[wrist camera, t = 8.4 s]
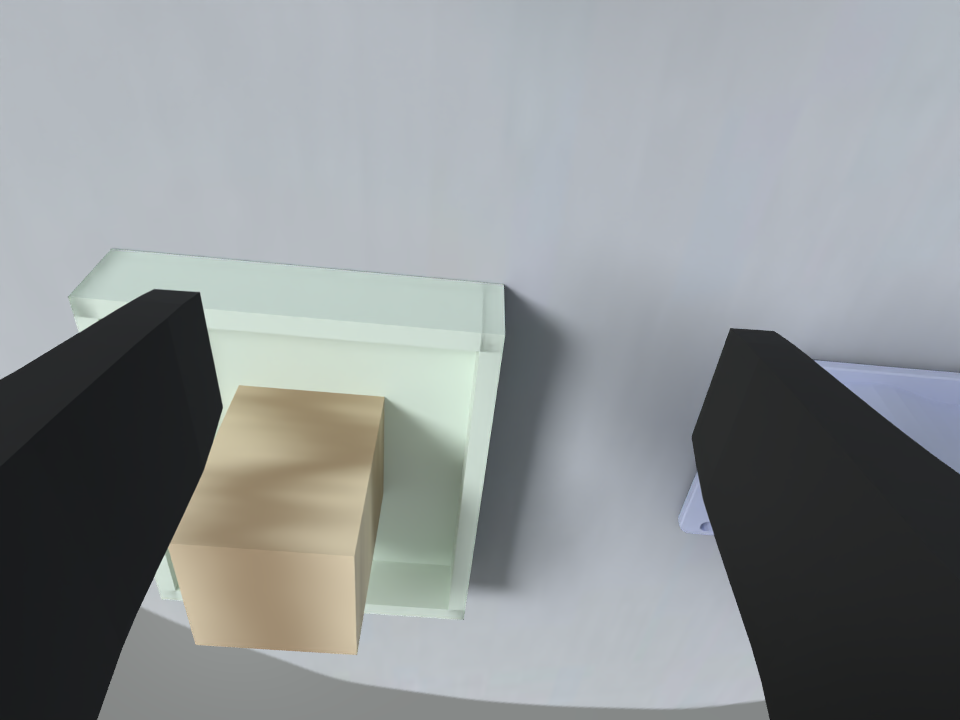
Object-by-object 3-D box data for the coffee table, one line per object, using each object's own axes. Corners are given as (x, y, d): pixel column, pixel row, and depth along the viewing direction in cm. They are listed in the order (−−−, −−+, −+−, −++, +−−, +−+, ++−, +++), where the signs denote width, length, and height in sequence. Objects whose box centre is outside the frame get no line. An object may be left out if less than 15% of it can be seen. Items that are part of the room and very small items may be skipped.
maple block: (384, 396, 22) (354, 556, 17) (383, 493, 24) (357, 655, 20) (238, 385, 22) (166, 543, 17) (254, 484, 24) (195, 644, 19)
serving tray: (504, 284, 20) (505, 335, 18) (465, 563, 28) (463, 619, 26) (111, 248, 19) (68, 296, 17) (185, 543, 27) (161, 599, 25)
